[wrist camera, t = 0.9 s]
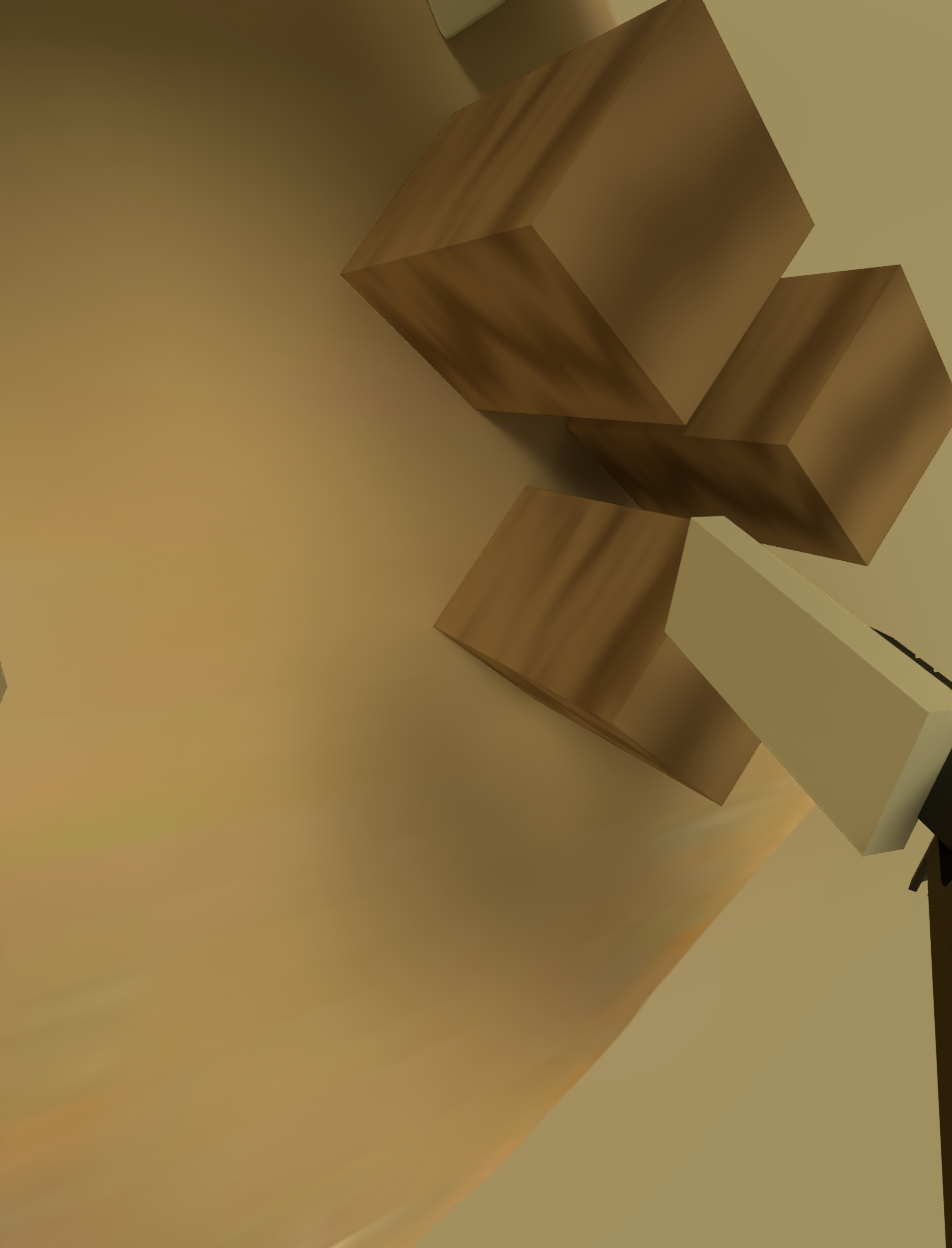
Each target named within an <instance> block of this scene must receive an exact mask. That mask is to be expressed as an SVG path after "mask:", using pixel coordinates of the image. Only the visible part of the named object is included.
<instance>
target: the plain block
mask: <svg viewBox="0 0 952 1248" xmlns="http://www.w3.org/2000/svg"><path fill="white" fill-rule="evenodd" d="M689 524H690V520H689V519H685V518H680V517H675V516H670V515H665V514H660V513H655V512H650V511H645V510H640V509H636V508H631V507H626V506H621V505H616V504H611V503H606V502H601V501H596V500H591V499H587V498H582V497H577V496H572V495H567V494H562V493H557V492H552V491H547V490H543V489H538V488H533V487H528V486H525V488H524V489H523V491H522V492H521V494H520V495H519V497H518V498H517V500H516V501H515V503H514V504H513V506H512V508H511V509H510V511H509V512H508V514H507V515H506V517H505V518H504V520H503V521H502V523H501V524H500V526H499V527H498V529H497V530H496V532H495V533H494V535H493V536H492V538H491V539H490V541H489V542H488V544H487V545H486V547H485V548H484V550H483V551H482V553H481V554H480V556H479V557H478V559H477V560H476V562H475V563H474V565H473V567H472V568H471V570H470V571H469V573H468V574H467V576H466V577H465V579H464V580H463V582H462V583H461V585H460V586H459V588H458V589H457V591H456V592H455V594H454V595H453V597H452V598H451V600H450V601H449V603H448V604H447V606H446V607H445V609H444V610H443V612H442V613H441V615H440V616H439V618H438V619H437V621H436V622H435V624H434V625H433V626H434V627H435V628H436V629H438V630H439V631H441V632H442V633H443V634H445V635H446V636H448V637H449V638H450V639H452V640H453V641H455V642H456V643H457V644H459V645H460V646H462V647H463V648H464V649H466V650H467V651H469V652H470V653H471V654H473V655H474V656H476V657H477V658H478V659H480V660H481V661H483V662H484V663H485V664H487V665H488V666H490V667H491V668H492V669H494V670H495V671H497V672H498V673H499V674H501V675H502V676H504V677H505V678H506V679H508V680H509V681H511V682H512V683H513V684H515V685H516V686H518V687H519V688H520V689H522V690H523V691H525V692H526V693H527V694H529V695H530V696H532V697H533V698H534V699H536V700H537V701H539V702H541V703H543V704H544V705H546V706H548V707H550V708H551V709H553V710H555V711H557V712H558V713H560V714H562V715H563V716H565V717H567V718H569V719H570V720H572V721H574V722H576V723H577V724H579V725H581V726H583V727H584V728H586V729H588V730H590V731H591V732H593V733H595V734H597V735H598V736H600V737H602V738H604V739H605V740H607V741H609V742H611V743H612V744H614V745H616V746H617V747H619V748H621V749H623V750H624V751H626V752H628V753H630V754H631V755H633V756H635V757H637V758H638V759H640V760H642V761H644V762H645V763H647V764H649V765H651V766H652V767H654V768H656V769H658V770H659V771H661V772H663V773H665V774H666V775H668V776H670V777H671V778H673V779H675V780H677V781H678V782H680V783H682V784H684V785H685V786H687V787H689V788H691V789H692V790H694V791H696V792H698V793H699V794H701V795H703V796H705V797H706V798H708V799H710V800H712V801H713V802H715V803H717V804H718V805H720V806H722V805H723V803H724V802H725V800H726V799H727V797H728V795H729V794H730V792H731V790H732V789H733V787H734V785H735V784H736V782H737V780H738V779H739V777H740V775H741V774H742V772H743V771H744V769H745V767H746V766H747V764H748V762H749V761H750V759H751V757H752V756H753V754H754V752H755V751H756V749H757V747H758V746H759V744H760V743H761V740H760V739H759V738H758V737H757V736H756V735H755V734H754V732H753V731H752V730H751V729H750V728H749V727H748V726H747V725H746V723H745V722H744V721H743V720H742V719H741V718H740V717H739V715H738V714H737V713H736V712H735V711H734V710H733V709H732V707H731V706H730V705H729V704H728V703H727V702H726V701H725V700H724V698H723V697H722V696H721V695H720V694H719V693H718V692H717V690H716V689H715V688H714V687H713V686H712V685H711V684H710V683H709V681H708V680H707V679H706V678H705V677H704V676H703V675H702V673H701V672H700V671H699V670H698V669H697V668H696V667H695V665H694V664H693V663H692V662H691V661H690V660H689V659H688V658H687V656H686V655H685V654H684V653H683V652H682V651H681V650H680V648H679V647H678V646H677V645H676V644H675V643H674V642H673V641H672V639H671V638H670V637H669V636H668V635H667V634H666V633H665V628H666V624H667V619H668V615H669V611H670V606H671V602H672V598H673V593H674V589H675V585H676V580H677V576H678V572H679V567H680V563H681V559H682V554H683V550H684V546H685V541H686V537H687V533H688V528H689Z"/></svg>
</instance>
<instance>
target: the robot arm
mask: <svg viewBox="0 0 952 1248" xmlns="http://www.w3.org/2000/svg"><path fill="white" fill-rule="evenodd" d="M665 633H666V634H667V635H668V636H669V637H670V638H671V639H672V641H673V642H674V643H675V644H676V645H677V646H678V647H679V648H680V650H681V651H682V652H683V653H684V654H685V655H686V656H687V658H688V659H689V660H690V661H691V662H692V663H693V664H694V665H695V667H696V668H697V669H698V670H699V671H700V672H701V673H702V675H703V676H704V677H705V678H706V679H707V680H708V681H709V683H710V684H711V685H712V686H713V687H714V688H715V689H716V690H717V692H718V693H719V694H720V695H721V696H722V697H723V698H724V700H725V701H726V702H727V703H728V704H729V705H730V706H731V707H732V709H733V710H734V711H735V712H736V713H737V714H738V715H739V717H740V718H741V719H742V720H743V721H744V722H745V723H746V725H747V726H748V727H749V728H750V729H751V730H752V731H753V732H754V734H755V735H756V736H757V737H758V738H759V739H760V740H761V742H762V743H763V744H764V745H765V746H766V747H767V748H768V749H769V751H770V752H771V753H772V754H773V755H774V756H775V757H776V759H777V760H778V761H779V762H780V763H781V764H782V765H783V767H784V768H785V769H786V770H787V771H788V772H789V773H790V774H791V776H792V777H793V778H794V779H795V780H796V781H797V782H798V784H799V785H800V786H801V787H802V788H803V789H804V790H805V791H806V793H807V794H808V795H809V796H810V797H811V798H812V799H813V801H814V802H815V803H816V804H817V805H818V806H819V807H820V809H821V810H823V812H824V813H825V814H826V815H827V816H828V818H830V819H831V821H832V822H833V823H834V824H835V826H836V827H837V828H838V829H839V830H840V831H841V832H842V833H843V835H844V836H845V837H846V838H847V839H848V840H849V841H850V842H851V844H852V845H853V846H854V847H855V848H856V849H857V851H858V852H859V853H860V854H861V855H862V856H867V855H872V854H877V853H883V852H889V851H895V850H900V849H904V847H905V845H906V843H907V841H908V839H909V837H910V835H911V833H912V831H913V829H914V827H915V825H916V823H917V821H918V819H920V821H922V823H923V824H924V825H926V826H927V827H928V828H929V829H930V830H931V831H932V832H933V833H934V834H935V835H934V837H933V839H932V841H931V843H930V845H929V847H928V849H927V851H926V853H925V855H924V857H923V858H922V861H921V862H920V864H919V866H918V868H917V870H916V872H915V874H914V876H913V878H912V880H911V883H910V886H909V890H912V891H915V892H916V891H917V889H918V888H919V886H920V884H921V882H923V881H926V880H928V898H929V918H930V938H931V958H932V978H933V997H934V1018H935V1038H936V1055H937V1056H936V1057H937V1076H938V1077H937V1078H938V1098H939V1117H940V1137H941V1157H942V1177H943V1197H944V1217H945V1236H946V1248H952V682H951V681H949V680H948V679H947V678H946V677H944V676H943V675H942V674H940V673H939V672H934V668H932V667H931V666H930V665H928V664H927V663H926V662H924V661H923V660H922V659H920V658H916V657H915V654H914V653H912V652H911V651H910V650H908V649H907V648H906V647H904V646H903V645H902V644H900V643H899V642H898V641H897V640H895V639H894V638H892V637H890V636H888V635H886V634H884V633H882V632H880V631H878V630H876V629H874V628H872V627H869V626H867V625H866V624H865V623H863V622H862V621H861V620H859V619H858V618H857V617H856V616H854V615H853V614H852V613H850V612H849V611H848V610H846V609H845V608H844V607H842V606H841V605H840V604H839V603H837V602H836V601H835V600H833V599H832V598H831V597H829V596H828V595H827V594H826V593H824V592H823V591H821V590H820V589H819V588H818V587H816V586H815V585H814V584H812V583H811V582H810V581H809V580H807V579H806V578H805V577H803V576H802V575H801V574H799V573H798V572H797V571H795V570H794V569H793V568H791V567H790V566H789V565H788V564H786V563H785V562H784V561H782V560H781V559H780V558H778V557H777V556H776V555H774V554H773V553H772V552H770V551H769V550H768V549H766V548H765V547H764V546H763V545H761V544H760V543H759V542H757V541H756V540H755V539H754V538H752V537H751V536H750V535H748V534H747V533H746V532H744V531H743V530H742V529H740V528H739V527H738V526H736V525H735V524H734V523H733V522H731V521H730V520H729V519H727V518H726V517H725V516H710V517H691V520H690V524H689V528H688V533H687V537H686V541H685V546H684V550H683V554H682V559H681V563H680V567H679V572H678V576H677V580H676V585H675V589H674V593H673V598H672V602H671V606H670V611H669V615H668V619H667V624H666V628H665ZM6 688H7V684H6V680H5V677H4V673H3V670H2V666H1V663H0V703H1V700H2V698H3V695H4V693H5V691H6Z"/></svg>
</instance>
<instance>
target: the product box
mask: <svg viewBox="0 0 952 1248" xmlns="http://www.w3.org/2000/svg"><path fill="white" fill-rule="evenodd" d="M427 1H428V3H429V5H430V8H431V10H432V13H433V15H434V18H435V20H436V23H437V25H438V27H439V30H440V32H441V33H442V35H443V36H444V37H445V38H446V39H449V38H451V37H453V36H454V35H456V34H457V33H459V32H461V31H462V30H464V29H465V28H467V27H468V26H470V25H471V24H473V23H474V22H476V21H477V20H479V19H480V18H482V17H483V16H485V15H486V14H488V13H489V12H491V11H492V10H494V9H495V8H497V7H498V6H500V5H501V4H503V3H504V2H506V1H507V0H427Z"/></svg>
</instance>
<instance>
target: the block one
mask: <svg viewBox="0 0 952 1248" xmlns="http://www.w3.org/2000/svg"><path fill="white" fill-rule="evenodd" d="M566 426H567V427H568V428H569V429H570V430H571V432H572V433H573V434H574V435H575V436H576V437H577V438H578V439H579V440H580V441H581V443H582V444H583V445H584V446H585V447H586V448H587V449H588V450H589V451H590V452H591V454H592V455H593V456H594V457H595V458H596V459H597V460H598V461H599V462H600V463H601V465H602V466H603V467H604V468H605V469H606V470H607V471H608V472H609V473H610V474H611V475H612V477H613V478H614V479H615V480H616V481H617V482H618V483H619V484H620V485H621V486H622V488H623V489H624V490H625V491H626V492H627V493H628V494H629V495H630V496H631V497H632V499H633V500H634V501H635V502H636V503H637V504H638V505H639V506H640V507H641V508H642V510H645V511H650V512H655V513H660V514H665V515H670V516H675V517H680V518H685V519H689V520H691V517H710V516H725V517H726V518H727V519H729V520H730V521H731V522H733V523H734V524H735V525H736V526H738V527H739V528H740V529H742V530H743V531H744V532H746V533H747V534H748V535H750V536H751V537H752V538H754V539H755V540H756V541H757V542H759V543H762V544H767V545H772V546H776V547H781V548H786V549H791V550H795V551H800V552H805V553H809V554H814V555H818V556H823V557H828V558H832V559H837V560H842V561H846V562H851V563H855V564H860V565H865V566H868V565H869V563H870V561H871V559H872V558H873V556H874V555H875V553H876V551H877V549H878V548H879V546H880V545H881V543H882V541H883V540H884V538H885V536H886V535H887V533H888V532H889V530H890V528H891V527H892V525H893V523H894V522H895V520H896V518H897V517H898V515H899V513H900V512H901V510H902V508H903V507H904V505H905V503H906V502H907V500H908V499H909V497H910V495H911V494H912V492H913V490H914V489H915V487H916V485H917V484H918V482H919V480H920V479H921V477H922V475H923V474H924V472H925V470H926V469H927V467H928V465H929V464H930V462H931V460H932V459H933V457H934V456H935V454H936V452H937V451H938V449H939V447H940V446H941V444H942V442H943V440H944V439H945V437H946V436H947V434H948V433H949V430H950V429H951V428H952V383H951V380H950V378H949V376H948V373H947V371H946V369H945V366H944V364H943V362H942V360H941V357H940V355H939V353H938V350H937V348H936V346H935V343H934V341H933V339H932V336H931V334H930V332H929V330H928V327H927V325H926V323H925V320H924V318H923V316H922V313H921V311H920V309H919V307H918V304H917V302H916V299H915V297H914V295H913V293H912V290H911V288H910V286H909V283H908V281H907V279H906V276H905V274H904V272H903V270H902V267H901V265H892V266H883V267H875V268H866V269H857V270H848V271H840V272H831V273H823V274H813V275H805V276H797V277H787V278H780V279H779V281H778V283H777V284H776V286H775V287H774V289H773V290H772V292H771V293H770V295H769V297H768V298H767V300H766V301H765V303H764V304H763V306H762V307H761V309H760V311H759V312H758V314H757V315H756V317H755V318H754V320H753V321H752V323H751V324H750V326H749V328H748V329H747V331H746V332H745V334H744V335H743V337H742V338H741V340H740V342H739V343H738V345H737V346H736V348H735V349H734V351H733V352H732V354H731V356H730V357H729V359H728V360H727V362H726V363H725V365H724V366H723V368H722V369H721V371H720V373H719V374H718V376H717V377H716V379H715V380H714V382H713V383H712V385H711V387H710V388H709V390H708V391H707V393H706V394H705V396H704V397H703V399H702V401H701V402H700V404H699V405H698V407H697V408H696V410H695V411H694V413H693V414H692V416H691V418H690V419H689V421H688V422H687V424H686V425H675V424H661V423H648V422H635V421H621V420H608V419H594V418H581V417H571V418H570V420H569V421H568V423H567V424H566Z"/></svg>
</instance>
